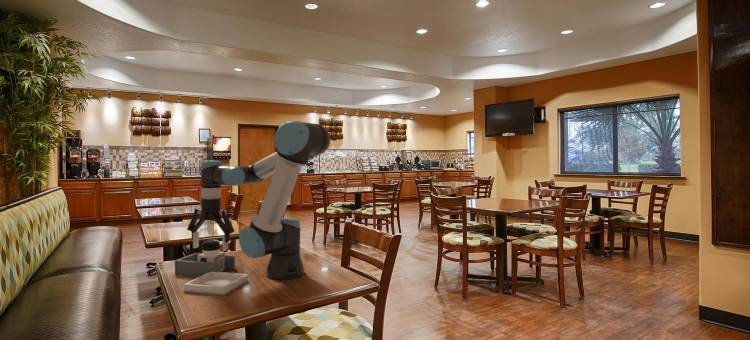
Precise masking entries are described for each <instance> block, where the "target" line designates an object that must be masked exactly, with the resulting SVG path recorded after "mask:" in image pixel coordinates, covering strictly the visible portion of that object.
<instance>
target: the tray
mask: <svg viewBox="0 0 750 340" xmlns="http://www.w3.org/2000/svg"><path fill="white" fill-rule="evenodd" d="M248 282H249V274H247V273H237V272H236V273H235V272H223V271H221V272H212V271H211V272H209V273H207V274H205V275H202V276H197V277H196V278H194V279H192V280H189V281H188V282H186V283H185V282H184V284H183V292H186V293H195V294H196V293H197V294H204V295H205V294H206V295H217V296H218V295H219V296H226V295H227V294H229V293H231V292H233V291H234V290H236V289H237V288H239V287H241V286H242V285H244V284H246V283H248Z"/></svg>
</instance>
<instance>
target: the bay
mask: <svg viewBox="0 0 750 340" xmlns="http://www.w3.org/2000/svg"><path fill="white" fill-rule="evenodd" d="M202 253H203V252H202ZM202 253H201V252H194V253H193V254H188V255H187V256H184V257H180V258H179V259H176V260H174V275H182V276H195V277H200V276H202V275H205V274H207V273H209V272H211V271H212V272H219V263H210V262H197V256H198V255H199V254H202ZM225 269H228V270H235V269H236V255H229V254H228V255H227V254H225ZM225 269H224V270H225Z"/></svg>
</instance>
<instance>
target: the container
mask: <svg viewBox="0 0 750 340" xmlns="http://www.w3.org/2000/svg"><path fill="white" fill-rule="evenodd" d="M220 243H221V242H220V241H219V240H217V239H207V240H205V241H203V242H202V254H199V255H198V256H197V262H210V263H219V272H223V271H225V255H226V253H225V251H220V249H221V248H220V247H221V246H220V245H221V244H220Z"/></svg>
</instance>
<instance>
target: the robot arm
mask: <svg viewBox="0 0 750 340" xmlns="http://www.w3.org/2000/svg"><path fill="white" fill-rule="evenodd" d="M274 143H275V144H274V145H275V148H276V152H273V153H272V154H270V155H268V156H266V157H264V158H262V159H260V160H258V161H256V162H254V163H252V164H251V165H235V166H234V165H231V166H229V165H222V161H220V160H207V159H206V160H203V161H202V162H201V169H200V171H201V172H200V178H201V179H200V184H201V185H200V186H201V187H200V197H201V199H200V208H199V207H198V208H195V209H194V210H193V211H194V212H193V216H192V217H191V220H190V221H189V224H188V226H187V231H190V233H191V240H192V248H193V249H196V248H199V247H200V243H199V242H200V231H198V230H199V228H201V226H202V225H203V224H204V223H205V222H206V221H211V222H212V221H214V222H215V223H216V224H217V225H218V227H219V228H220V229H221V231H222V232H223V234H222V252H225V251H227V250H228V249H229V242H230V241H231V234H232V233H235V228H234V226H233V223H232V222H231V219H230V217H229V214H228V213H229V212H228V209H223V210H221V205H222V203H221V202H222V200H221V197H222V185H223V186H231V187H233V186H234V187H236V186H240V185H246V184H247V185H248V184H249V185H250V184H259V183H263V182H265V181H266V179H267V178H268V177H270V176H271V179H270V182H269V185H268V187H267V190H266V193H265V195H264V197H263V201H262V204H261V206H260V209H259V212H258V214H257V215H254V216H253V217H252V219H251V221H250V223H249V226H246V227H245V228H243V229H241V230H240V232H239V236H238V243H239V246H240V249H241V251H242V252H243V253H244V255H246V256H247V257H248V258H251V259H257V258H262V257H265V256H268V255H270V258H269V261H268V264H267V267H266V277H268V278H269V279H273V280H289V279H297V278H300V277H302V276H304V274H305V266H304V263H303V260H302V256H301V230H302V229H301V221H300V220H299V219H297V218H291V217H283V216H284V214H285V211H286V208H287V206H288V203H289V201H290V198H291V195H292V193H293V190H294V188H295V185H296V183H297V180H298V177H299V175H300V172H301V170H302V167H304V166H306V165H308V163H309V161H310V160H311V159H314V158H316V157H318V156H321V155H322V154H324V153H325V152H326V151H327V150H328V149H329V147H330V145H331V136H330V132H329V131H328V129H327V128H326V127H325V126H323V125H322V124H320V123H311V122H303V121H299V120H294V121H286V122H284V123H283V124H281V125H280V126H279V127H278V129H277V131H276V132H275V134H274ZM200 215H201V217H200Z"/></svg>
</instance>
